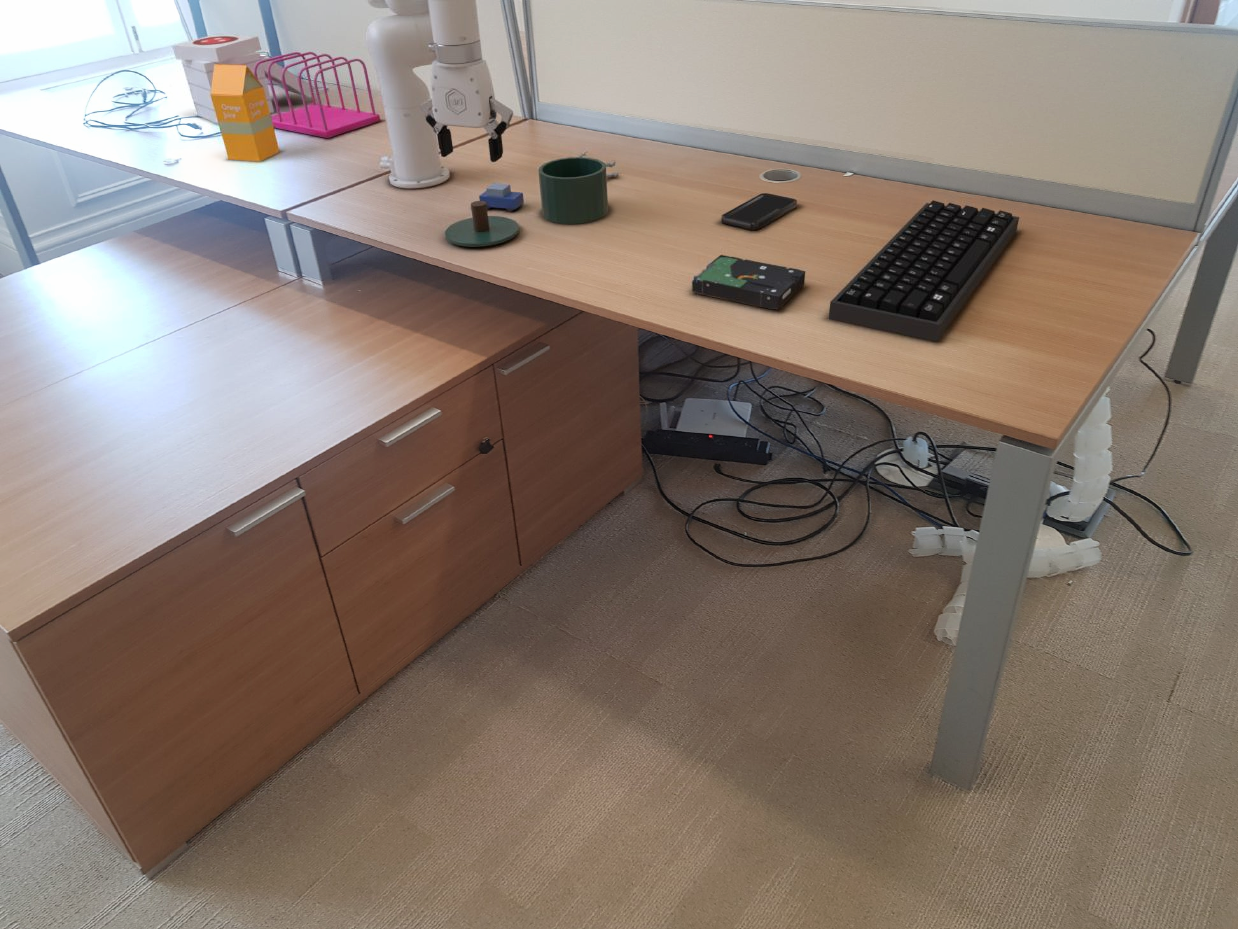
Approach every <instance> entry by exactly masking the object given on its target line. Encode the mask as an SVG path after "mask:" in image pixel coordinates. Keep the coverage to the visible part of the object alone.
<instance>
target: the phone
mask: <svg viewBox="0 0 1238 929" xmlns="http://www.w3.org/2000/svg"><path fill="white" fill-rule="evenodd" d="M797 203H798V200H797V199H796V198H792V197H787V196H782V195H778V194H773V193H768V192H763V193H762V192H761V193H760V194H758V195H756V196H754V197H752V198H750V199H749V200H747V201H745V202H743V203H741V204H739V205H737V206H736V207H734V208H732V209H730V210H728V211H726V212H725V213H723V214H722V215H721V223H722V224H725V225H727V226H728V225H729V226H733V227H737V228H740V229H745V230H749V231H756V230H757V231H758V230H760V229H761V228H763V227H765V226H767V225H768V224H770V223H772V222H773V221H775V220H777V219H778V218H780V217H782V216H784V215H785V214H787V213H789V212H791V211H792V210H794V209H795V208H797Z"/></svg>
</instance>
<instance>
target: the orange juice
mask: <svg viewBox="0 0 1238 929" xmlns="http://www.w3.org/2000/svg"><path fill="white" fill-rule="evenodd" d="M210 96H211V99H212V103H213V106H214V110H215V113H216V117H217V120H218V124H217V125H218V128H219V131H220V134H221V138H222V141H223V144H224V149H225V152H226V156H227V158H228V160H229V161H230V160H231V161H244V162H245V161H246V162H257V163H258V162H259V163H260V162H262V161H264V160H266V159H268V158H271V157H272V156H274V155H277V154H278V153H280V147H279V142H278V140H277V139H278V138H277V135H276V132H275V128H274V127H273V122H272V118H271V116H272V113H270V111H269V107H268V103H267V99H266V96H265V92H264V88H263V86H262V84H261V83H260V82H259V81H258V79H257V78H256V77H255V76H254V74H253V73H252V72H251V70H250V69H249V68H248V67H247V65H237V64H214V71H213V79H212V87H211V94H210Z"/></svg>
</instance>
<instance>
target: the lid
mask: <svg viewBox="0 0 1238 929" xmlns="http://www.w3.org/2000/svg"><path fill="white" fill-rule="evenodd" d="M470 211H471V217H469V218H465V219H461V220H459V221H455V222H454V223H452V224H450V225H449V226H448V227H447V228H446V229H445V231H444V237H445V239H446V240H447V242H449V243H451V244H453V245H456V246H460V247H461V246H462V247H469V248H470V247H472V248H473V247H475V248H476V247H477V248H479V247H487V246H493V245H498V244H501V243H505V242H507V241H510V240H511V239H513V238H514V237H516V236H517V235H518V234H519V232H520V224H518V222H517V221H516V220H514V219H512V218H509V217H506V216H499V215H489V212H488V210H487V204H486V202H485V201H480V200H475V201H471V202H470Z"/></svg>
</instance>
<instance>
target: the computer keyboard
mask: <svg viewBox="0 0 1238 929" xmlns="http://www.w3.org/2000/svg"><path fill="white" fill-rule="evenodd" d="M1019 221H1020V217H1019V216H1015V215H1013V213H1011V212H1008V211H1005V210H1001V209H999V211H998V212H997V213H996V211H995V210H993V209H990V208H985V207H982V208H981V209H980V210H979V208H977V207H974V206H970V205H967V204H966V205H964V207H963V208H962V205H959V204H955V203H952V202H948V204H946V205H945V203H944V202H941V201H937V200H933V199H932V201H931V202H926V203H925V204H924V205H923V206H922V207H921V208H920V209H919V210H918V211H917V212H916V213H915V214H914V215H913V216H912V217H911V218H910V219H909V220H908V221H907V222H906V223H905V224H904V225H903V226H902V227H901V228H900V230H899V231H897V232H896V233H895V235H894V236H893V237H892V238H891V239H889V241H888V242H887V243H886V244H885V245H884V246H883V247H881V249H880V250H879V251H878V252H877V253H876V254H875V255H874V256H873V257H872V258H871V260H869V261H868V262H867V264H865V265H864V266H863V267H862V268H861V270H859V271H858V273H857V274H856V275H855V276H854V277H853V278H852V279H850V281H849V282H848V283H847V284H846V285H845V286H844V287H843V288H842V289H841V290H840V291H839V292H838V293H837V294H836V295H835V296H834V297H833V298H832V299H831V300H830V302H829V312H828V320H832V321H838V322H843V323H847V324H852V325H856V326H861V327H866V328H870V329H875V330H879V331H883V332H888V333H894V334H897V335H902V336H905V337H911V338H916V339H921V340H925V341H929V342H933V343H937V342H938V341H939V340H940V338H941V337H942V336H943V334H944V333H945V332H946V330H947V329H948V327H949V326H950V325H951V323H952V322H953V320H954V319H955V318H956V317H957V315H958V313H959V312H960V311H961V309H962V308H963V306H965V304H966V303H967V301H968V300H969V298H970V297H971V296H972V294H974V291H975V290H976V289H977V287H978V286H979V284H980V283H981V282H982V281H983V279H984V278H985V276H986V275H987V273H988V272H989V270H990V269H991V268H992V266H993V265H994V264H995V262H996V261H997V260H998V258H999V257H1000V256H1001V254H1002V253H1003V251H1004V250H1005V248H1006V247H1007V246H1008V244H1009V243H1010V242H1011V240H1012V239H1013V237H1014V236H1015V234H1017V230H1018V227H1019V226H1018V225H1019Z"/></svg>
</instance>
